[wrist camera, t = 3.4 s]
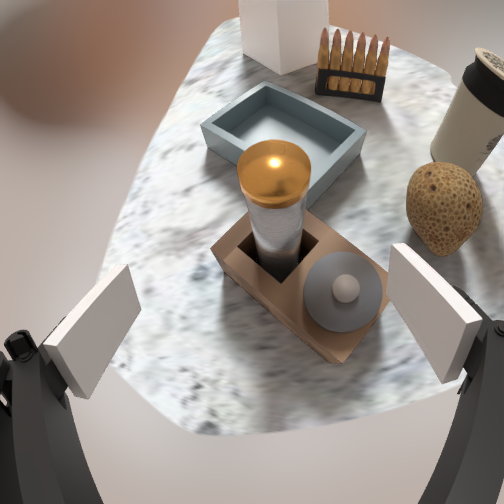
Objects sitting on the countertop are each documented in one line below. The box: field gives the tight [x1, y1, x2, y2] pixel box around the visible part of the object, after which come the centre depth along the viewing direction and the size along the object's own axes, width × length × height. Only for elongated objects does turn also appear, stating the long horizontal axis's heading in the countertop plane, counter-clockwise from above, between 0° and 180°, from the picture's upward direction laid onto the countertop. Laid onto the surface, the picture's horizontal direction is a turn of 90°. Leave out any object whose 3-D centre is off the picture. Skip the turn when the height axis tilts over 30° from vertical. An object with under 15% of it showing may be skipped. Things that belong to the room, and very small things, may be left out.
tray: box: [200, 80, 367, 210], centre depth 33 cm, size 16×12×4 cm
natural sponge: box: [406, 162, 483, 257], centre depth 24 cm, size 9×9×10 cm
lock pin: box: [237, 139, 311, 284], centre depth 22 cm, size 4×4×16 cm
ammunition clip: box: [315, 28, 390, 102], centre depth 33 cm, size 11×2×12 cm, turn 84°
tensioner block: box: [210, 209, 390, 363], centre depth 24 cm, size 14×8×8 cm, turn 47°
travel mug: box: [431, 48, 504, 177], centre depth 24 cm, size 8×8×18 cm
